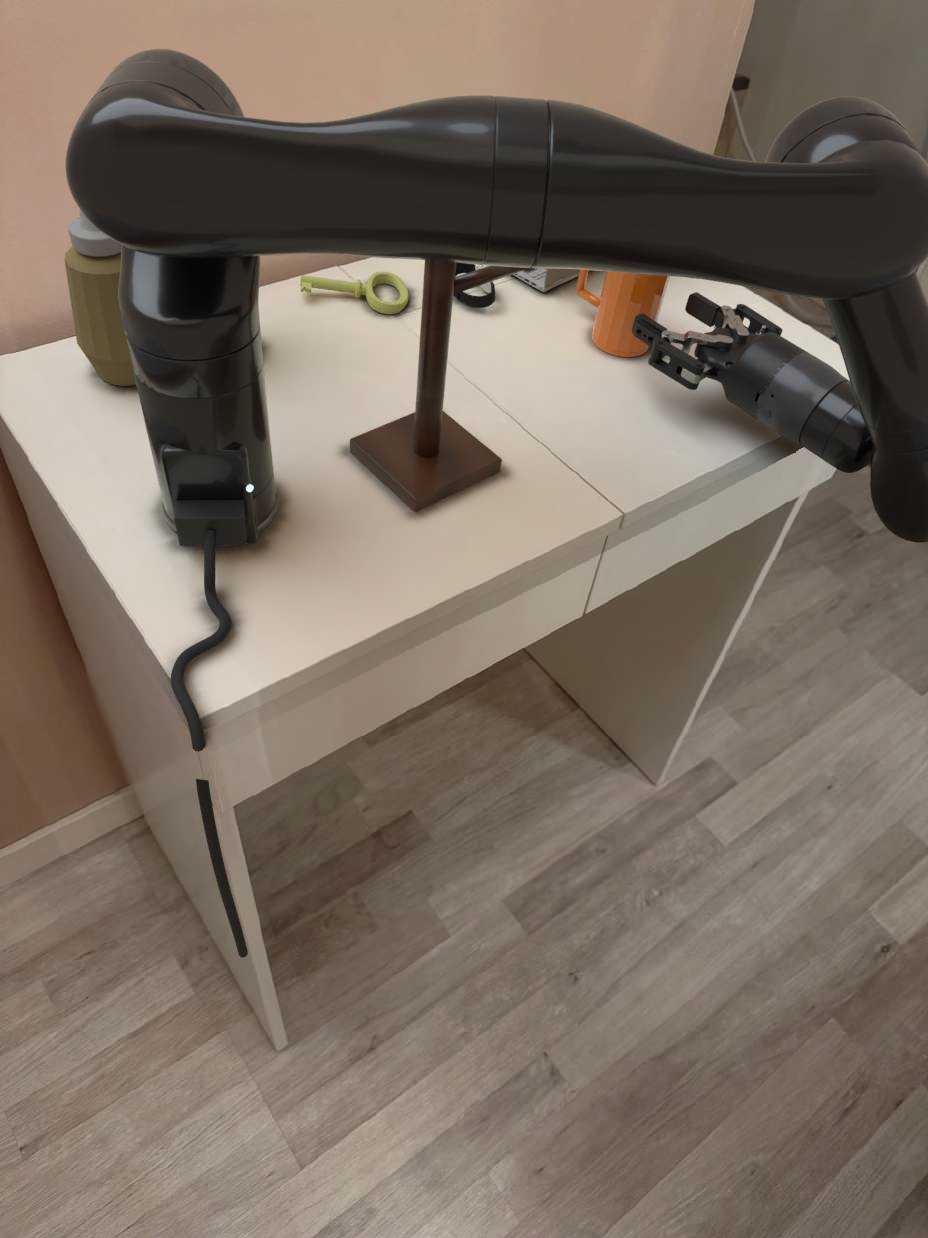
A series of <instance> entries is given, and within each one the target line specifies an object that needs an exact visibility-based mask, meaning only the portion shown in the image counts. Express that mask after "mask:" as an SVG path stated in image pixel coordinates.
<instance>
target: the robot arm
mask: <svg viewBox="0 0 928 1238" xmlns="http://www.w3.org/2000/svg"><path fill="white" fill-rule="evenodd" d="M64 169H65V176H66V181H67V185H68V189H69V192H70V194H71V196H72V198H73V201H74V202H75V204H76V205H77V207H78V209H79V211H80V210H81V211H82V213H83V214H84V215H85V216H86V217H87V219H88V220H89V221H90V222H91V223H92V224H93V225H94V226H95V227H96V228H97V229H99V230H100V231H101V232H102V233H104V234H105V235H106V236H108V237H109V238H110V239H112V240H114V241H116V242H117V243H119V244H121V267H120V277H119V286H118V303H119V308H120V313H121V318H122V322H123V327H124V331H125V335H126V340H127V344H128V349H129V353H130V358H131V362H132V367H133V372H134V376H135V381H136V385H135V386H136V389H137V394H138V399H139V403H140V407H141V411H142V416H143V420H144V425H145V430H146V433H147V438H148V443H149V447H150V452H151V457H152V460H153V464H154V465H153V466H154V471H155V474H156V478H157V482H158V486H159V492H160V494H161V499H162V509H163V510H162V511H163V514H164V518H165V520H166V522H167V524H168V525H169V527H170V528H171V529H172V530H173V531H174V532H176V534H177V540H178V544H179V546H180V547H204V552H203V589H204V596H205V599H206V602H207V605H208V607H209V609H210V611H211V612H212V613H213V614H214V616H215V617H216V618H217V619H218V622H219V624H218V628H217V630H216V631H215V632H214V633H213V634H211V635H209V636H208V637H206V638H204V639H202V640H200V641H198V642H196V643H194V644H193V645H190V646H189V647H187V648H186V649H184V650H183V651H182V652H181V653H180V654H179V655H178V656H177V658H176V659H175V661H174V664H173V667H172V670H171V673H170V674H171V675H170V684H171V689H172V692H173V694H174V696H175V698H176V700H177V703H178V704H179V706H180V707H181V710H182V711H183V714H184V717H185V719H186V723H187V725H188V730H189V735H190V741H191V748H192V750H194V752H198V753H199V752H202V751H203V750H205V747H206V739H205V735H204V729H203V728H204V727H203V724H202V720H201V717H200V714H199V711H198V710H197V708H196V706H195V703H194V701H193V700H192V698H191V696H190V694H189V692H188V690H187V688H186V683H185V672H186V669H187V666H188V665H189V664H190V662H192V661H193V660H194V659H196V658H197V657H199V656H201V655H203V654H205V653H206V652H209V651H211V650H212V649H215V648H216V647H218V646H219V645H220V644H222V643H223V642H224V641H225V640H226V638H227V637H228V636H229V633H230V632H231V629H232V619H231V616H230V614H229V612H228V611H227V609H226V608H225V607H224V606H223V604H222V603H221V601H220V600H219V597H218V595H217V589H216V587H217V586H216V555H217V553H216V552H217V547H219V546H246V545H247V544H256V543H257V542H258V537H259V536H258V535H259V533H261V532H262V531H263V530H265V529H266V528H267V527H268V526H270V524H271V523H272V522H273V520H274V518H275V517H276V514H277V511H278V505H279V503H278V502H279V501H278V493H277V490H276V482H275V471H274V463H273V453H272V452H273V451H272V442H271V440H272V439H271V432H270V420H269V419H270V418H269V411H268V399H267V389H266V388H267V387H266V378H265V367H264V354H263V343H262V333H261V332H262V331H261V321H260V306H259V305H260V303H259V302H260V301H259V299H260V298H259V296H260V295H259V294H260V279H261V256H263V257H264V256H283V255H285V256H286V255H338V256H339V255H340V256H354V257H363V258H376V259H377V258H379V259H395V260H396V259H398V260H416V261H425V260H434V261H448V262H459V263H467V264H475V265H476V266H477V265H483V264H484V265H485V266H504V267H521V268H530V267H532V268H542V269H582V270H590V271H595V272H596V271H597V272H605V273H606V272H618V273H631V274H645V275H661V276H670V277H677V278H688V279H696V280H704V281H710V282H718V283H721V284H722V283H723V284H727V285H728V284H729V285H734V286H740V287H745V288H751V289H758V290H761V291H768V292H773V293H777V294H784V295H791V296H797V297H802V298H809V299H816V300H822V301H823V305H824V307H825V309H826V311H827V314H828V317H829V320H830V322H831V325H832V329H833V332H834V334H835V337H836V340H837V344H838V347H839V350H840V353H841V356H842V359H843V362H844V365H845V369H846V373H847V376H848V378H846V377H845V376H844V375H843V374H841V373H840V372H839V371H838V370H837V369H836V368H834V367H833V366H832V365H830V364H828V363H826V362H825V361H823V360H821V359H820V358H818V357H817V356H814V355H813V354H811V353H810V352H809V351H806V350H805V349H803V348H801V347H800V346H798V345H797V344H795V343H793V342H792V341H790V340H788V339H787V338H785V337H783V336H782V333H783V328H782V327H780V326H779V325H777V324H775V323H774V322H772V321H771V320H770V319H768V318H766V317H765V316H763V314H760V313H759V312H757V311H755V310H754V309H753V308H751V307H750V306H748V305H746V304H744V303H738V304H736V307H735V308H733V307H732V306H729V305H722V306H721V305H719V304H718V303H716V302H714V301H712V300H711V299H709V298H707V297H706V296H704V295H703V294H701V293H699V292H698V291H697V292H693V293H690V294H689V295H688V298H687V301H686V305H685V308H684V310H685V312H686V313H687V315H689V316H691V317H692V318H694V319H696V320H698V321H699V322H700V323H702V324H704V325H706V326H707V327H709V328H713V330H712V331H708V332H707V331H706V332H704V333H702V332H699V331H694V330H689V331H687V332H685V333H681V332H675V331H671V330H668V328H667V327H665V326H664V325H662V324H661V323H659V322H658V321H657V322H656V321H654V320H653V319H651V318H649V317H648V316H646V315H645V314H639V315H637V316H636V317H635V319H634V323H633V327H632V333H633V335H634V336H635V337H636V338H638V339H639V340H641V341H642V342H644V343H645V344H647V345H648V346H649V347H650V348H652V349H651V352H650V355H649V358H648V360H647V364H648V365H649V366H650V367H652V368H654V369H655V370H657V371H659V372H660V373H662V374H664V375H665V376H667V377H668V378H670V379H672V380H673V381H674V382H676V383H678V384H680V385H681V386H682V387H685V388H687V389H688V390H690V391H696V390H698V388H699V385H700V383H701V381H703V380H704V379H706V378H707V379H709V380H712V381H716V382H718V383H720V384H721V385H722V388H723V391H724V396H725V398H726V400H727V401H728V402H730V403H731V404H733V405H734V406H736V407H737V408H738V409H740V410H742V411H743V412H745V413H746V414H747V415H749V416H750V417H752V418H754V419H755V420H757V421H758V422H760V423H761V424H763V425H765V426H766V427H768V428H769V429H771V430H772V431H773V432H775V433H776V434H778V435H779V436H782V437H783V438H786V439H788V440H790V441H792V442H793V443H795V444H797V445H799V446H802V448H805V449H806V450H807V451H809V452H811V453H812V454H814V455H815V456H817V457H818V458H819V459H821V460H822V461H824V462H825V463H826V464H829V465H830V466H831V467H833V468H835V469H836V470H838V471H841V472H842V473H846V474H853V473H856V472H859V471H861V470H863V469H864V468H866V467H867V466H870V480H869V481H870V482H869V484H870V485H869V487H870V498H871V502H872V505H873V508H874V511H875V513H876V515H877V517H878V518H879V520H880V521H881V523H882V524H883V526H884V527H885V528H886V529H887V530H888V531H890V533H892V534H893V535H895V536H896V537H898V538H900V539H902V540H904V541H907V542H910V543H911V542H912V543H921V544H922V543H928V300H927V297H926V294H925V291H924V290H923V287H922V284H921V281H920V278H919V277H918V273H917V269H919V268H920V267H921V266H922V264H924V263H925V262H926V260H927V259H928V162H927V161H926V159H925V158H924V156H923V154H922V152H921V151H920V149H919V148H918V146H917V144H916V143H915V141H914V139H913V138H912V136H911V135H910V133H909V131H908V130H907V128H906V127H905V126H904V124H903V123H902V122H901V121H900V119H899V118H898V116H896V115H895V114H894V113H892V112H891V111H890V110H888V109H887V108H886V107H884V106H883V105H882V104H881V103H879V102H876V101H874V100H871V99H869V98H867V97H862V96H855V95H844V96H834V97H830V98H827V99H824V100H821V101H818V102H817V103H814V104H812V105H810V106H808V107H807V108H805V109H803V110H802V111H801V112H798V114H797V115H795V116H794V117H793V118H792V119H791V120H790V121H789V122H788V123H787V124H786V125H785V126H784V127H783V128H782V130H781V131H780V132H779V134H778V135H777V137H776V138H774V140H773V143H772V145H771V146H770V148H769V150H768V152H767V154H766V156H765V160H764V161H755V160H754V161H753V160H746V159H736V158H729V157H725V156H720V155H714V154H712V153H708V152H705V151H702V150H698V149H695V148H693V147H690V146H688V145H685V144H683V143H680V142H678V141H676V140H674V139H671V138H669V137H667V136H664V135H662V134H660V133H657V132H655V131H653V130H650V129H648V128H645V127H643V126H641V125H639V124H637V123H634V122H631V121H629V120H626V119H623V118H621V117H619V116H616V115H614V114H611V113H608V112H605V111H603V110H600V109H597V108H593V107H590V106H587V105H584V104H580V103H575V102H570V101H569V102H568V101H564V100H557V99H556V100H554V99H544V98H534V97H533V98H532V97H520V96H519V97H517V96H505V95H489V94H488V95H484V94H483V95H481V94H480V95H479V94H478V95H458V96H457V95H456V96H447V97H438V98H433V99H428V100H423V101H417V102H411V103H407V104H403V105H400V106H399V105H398V106H395V107H391V108H386V109H383V110H379V111H374V112H371V113H367V114H362V115H357V116H353V117H348V118H343V119H337V120H329V121H314V122H310V121H309V122H299V121H281V120H273V119H264V118H255V117H247V116H245V115H244V112H243V109H242V107H241V105H240V103H239V101H238V100H237V98H236V96H235V95H234V93H233V91H232V90H231V88H230V87H229V86H228V85H227V83H226V82H225V81H224V80H223V79H222V78H221V76H220V75H218V74H217V73H216V71H214V70H213V69H212V68H210V67H209V66H208V65H207V64H205V63H204V62H202V61H200V60H199V59H198V58H195V57H193V56H191V55H189V54H187V53H184V52H182V51H177V50H173V49H167V48H153V49H146V50H141V51H139V52H136V53H134V54H132V55H130V56H128V57H127V58H125V59H123V60H122V61H121V62H120V63H118V64H117V65H116V66H115V67H114V68H113V69H112V71H110V73H109V74H108V75H107V76H106V78H105V80H104V81H103V82H102V84H101V85H100V86H99V87H98V89H97V90H96V92H95V93H94V95H92V97H91V98H90V100H89V101H88V103H87V105H85V107H84V109H83V110H82V112H81V113H80V115H79V117H78V119H77V120H76V123H75V124H74V127H73V129H72V131H71V134H70V137H69V140H68V145H67V149H66V154H65V168H64ZM745 319H747V320H748V321H749V325H748V326H746V325H744V320H745ZM672 343H673V344H678V345H681V346H682V347H681V348H679V347H677V346H675V345H673V344H672ZM693 345H695V347H694V351H693V354H694V356H692V355H690V351H691V348H692V346H693ZM667 361H668V362H667ZM195 784H196V785H195V786H196V793H197V798H198V805H199V810H200V815H201V820H202V824H203V828H204V835H205V839H206V843H207V848H208V853H209V857H210V861H211V865H212V868H213V873H214V877H215V880H216V884H217V888H218V891H219V894H220V897H221V898H220V899H221V901H222V903H223V907H224V910H225V914H226V916H227V920H228V923H229V926H230V929H231V931H232V935H233V939H234V942H235V947H236V950H237V954H238V956H239V958H242V959H243V958H246V957H247V956H248V954H249V952H248V947H247V943H246V942H247V941H246V939H245V935H244V931H243V927H242V924H241V921H240V918H239V914H238V910H237V906H236V903H235V900H234V897H233V893H232V890H231V886H230V882H229V878H228V875H227V871H226V867H225V862H224V856H223V853H222V848H221V844H220V839H219V833H218V829H217V824H216V817H215V813H214V806H213V801H212V795H211V789H210V780H207V779H201V778H195Z"/></svg>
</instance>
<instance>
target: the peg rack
mask: <svg viewBox="0 0 928 1238" xmlns="http://www.w3.org/2000/svg"><path fill="white" fill-rule="evenodd" d="M535 269H536V268H532V267H530V268H521V267H504V266H488V265H486V267H484V268H481V269H478V270H475V271H472V272H469V273H462V274H459V275H456V276H455V272H456V262H448V261H434V260H424V268H423V282H422V285H423V286H422V297H421V298H422V300H421V314H420V315H421V316H420V331H419V347H418V362H417V377H416V378H417V379H416V393H415V394H416V395H415V410H414V412H412V413H409V414H407V415H404V416H402V417H399V418H396V419H394V420H392V421H390V422H387V423H385V424H383V425H380V426H377V427H375V428H373V429H370V430H368V431H365V432H363V433H361V434H358V435H356V436H353V437H351V438H350V439H349V452H350V454H352V455H353V456H354V458H356V459H357V460H358V461H359V462H361V464H363V465H364V466H365V468H367V470H369V471H370V472H371V473H372V474H374V476H376V477H377V479H379V480H380V481H381V482H382V483H383V484H384V485H385V486H386V487H387V488H388V489H390V490H391V492H393V493H394V494H395V495H396V496H397V497H398V498H399V499H400V500H401V501H402V502H403V503H405V504H406V506H408V507H409V508H410V509H411V510H412V511H413V512H414V513H417V512H420V511H421V510H423V509H425V508H427V507H430V506H432V505H434V504H436V503H438V502H440V501H442V500H444V499H446V498H448V497H451V496H452V495H455V494H456V493H459V492H461V491H463V490H465V489H467V488H470V487H471V486H473V485H475V484H478V483H480V482H481V481H483V480H486V479H488V478H490V477H492V476H494V475H496V474H498V473H500V472H501V467H502V463H503V459H502V458H501V457H500V456H499V455H497V454H496V453H495V452H494V451H493V450H491V449H490V448H489V447H488V446H486V445H485V444H484V443H483V442H481V440H479V439H478V438H477V437H476V436H474V435H473V434H472V433H471V432H469V431H468V430H467V429H466V428H465V427H463V426H462V425H461V424H460V423H459V422H457V421H456V420H455V419H454V418H453V417H451V416H450V415H449V414H448V413H446V412H445V411H444V402H445V392H446V391H445V390H446V379H447V368H448V357H449V347H450V335H451V326H452V325H451V324H452V314H453V302H454V294H457V293H460V292H465V291H468V290H471V289H474V288H477V287H481V285H483V284H486V283H489V282H492V281H493V282H495V281H497V280H501V279H503V278H506V277H509V276H514V275H513V274H516V273H518V272H521V271H523V272H525V273H530V272H533V271H534V270H535Z"/></svg>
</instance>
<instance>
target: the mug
mask: <svg viewBox="0 0 928 1238" xmlns="http://www.w3.org/2000/svg"><path fill="white" fill-rule="evenodd" d="M589 272H590V271H589V270H582V269H580V271H579V276H577V281H576V287H575V290H574V291H575V294H576V296H578V297H579V298H581V299H582V300H584V301H585V302H587V303H588V304H589V305H592V306H593V307H594V308H596V313H595V318H594V323H593V327H592V333H591V340H592V342H593V344H594V345H595V346H596V347H597V348H598V349H599V350H601V351H603V352H605V353H607V354H608V355H612V356H614V357H615V356H616V357H622V358H635V357H639V356H642V355H644V354H646V352H647V351H648V350H649V347H650V346H648V345H647V344H645V343H644V342H642V341H641V340H639V339H638V338H636V337H635V336H634V335H633V333H632V327H633V323H634V319H635V317H636V316H637V315H639V314H645V315H646V316H648V317H649V318H651V319H653V320H654V321H656V322H657V323H658V319H659V316H660V312H661V308H662V306H663V302H664V298H665V295H666V291H667V287H668V285H669V281H670V278H671V276H661V275H645V274H631V273H618V272H606V271H605V276H604V279H603V284H602V289H601V291H600V292H601V293H600V297H598V296H597V295H595V294H594V293H592V292H590V291H589V290H588V289H586V285H587V280H588V275H589Z"/></svg>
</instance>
